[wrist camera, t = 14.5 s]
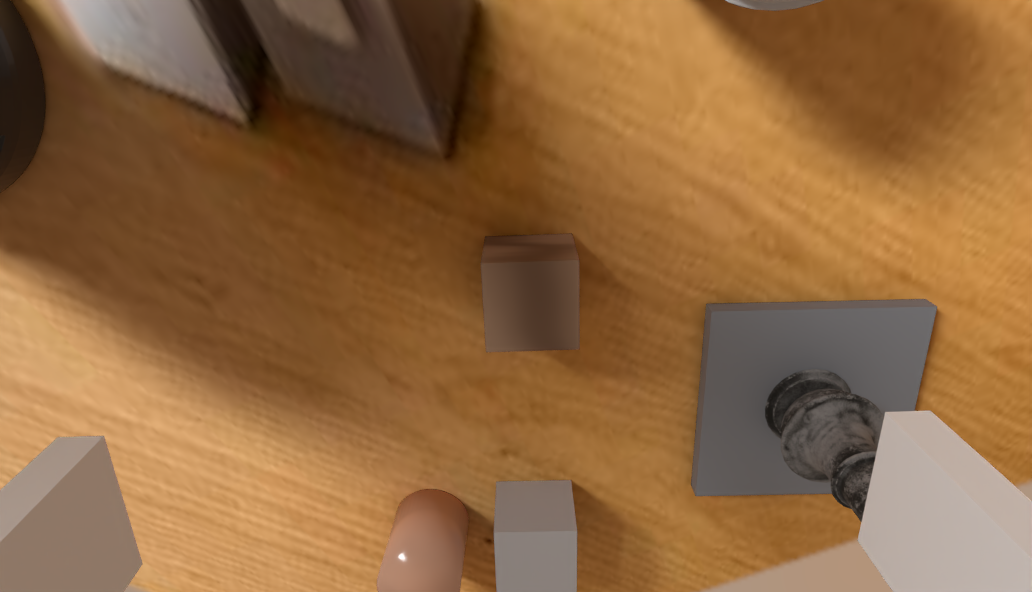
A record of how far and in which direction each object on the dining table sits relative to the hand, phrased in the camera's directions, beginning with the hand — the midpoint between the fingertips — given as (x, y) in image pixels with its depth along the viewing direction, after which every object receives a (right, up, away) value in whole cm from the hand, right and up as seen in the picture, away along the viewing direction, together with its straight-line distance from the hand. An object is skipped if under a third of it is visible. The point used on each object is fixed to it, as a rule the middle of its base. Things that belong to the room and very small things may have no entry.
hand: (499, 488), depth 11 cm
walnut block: (+1, +5, +28) cm, 28 cm away
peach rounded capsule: (-5, -12, +34) cm, 36 cm away
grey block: (+2, -11, +34) cm, 36 cm away
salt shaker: (+18, -3, +30) cm, 35 cm away
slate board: (+18, -3, +30) cm, 36 cm away
